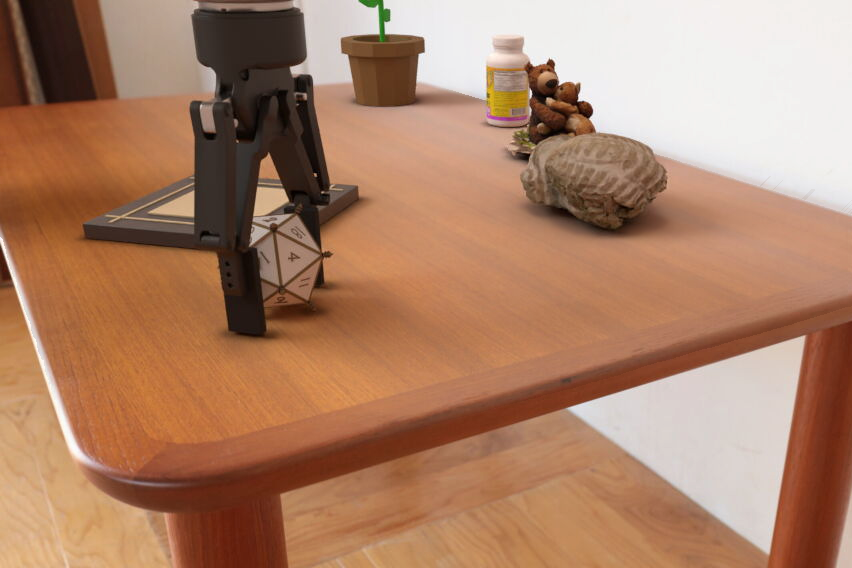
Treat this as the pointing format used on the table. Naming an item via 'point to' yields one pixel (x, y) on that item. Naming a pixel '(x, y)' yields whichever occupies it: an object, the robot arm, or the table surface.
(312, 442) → the table surface
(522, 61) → the supplement bottle
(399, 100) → the flowerpot
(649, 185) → the fossil
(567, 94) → the bear figurine
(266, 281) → the game die
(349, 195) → the game board
